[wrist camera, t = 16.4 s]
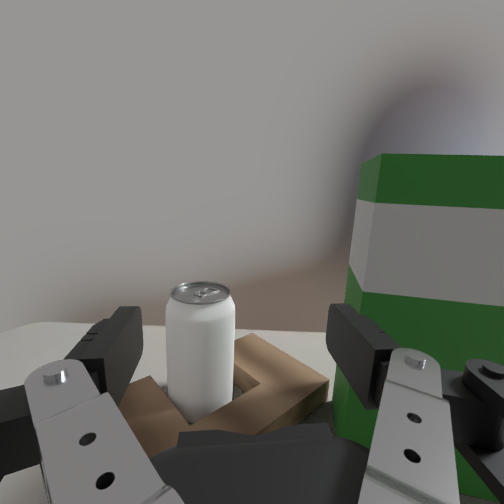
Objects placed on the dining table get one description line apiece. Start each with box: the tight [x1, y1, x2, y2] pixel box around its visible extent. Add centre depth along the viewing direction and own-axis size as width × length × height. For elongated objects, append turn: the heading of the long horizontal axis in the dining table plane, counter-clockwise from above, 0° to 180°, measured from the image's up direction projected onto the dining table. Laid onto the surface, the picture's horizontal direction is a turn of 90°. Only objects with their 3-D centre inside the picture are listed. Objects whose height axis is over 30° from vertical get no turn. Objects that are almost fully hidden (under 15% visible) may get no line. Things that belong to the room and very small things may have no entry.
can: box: [166, 281, 235, 424], centre depth 28 cm, size 6×6×12 cm
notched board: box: [118, 333, 329, 458], centre depth 27 cm, size 20×12×2 cm, turn 132°
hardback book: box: [332, 154, 504, 502], centre depth 22 cm, size 18×7×24 cm, turn 78°
